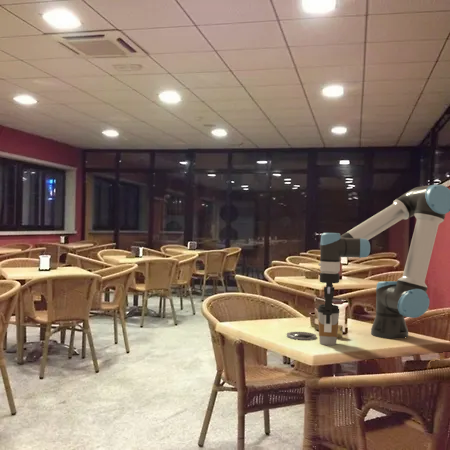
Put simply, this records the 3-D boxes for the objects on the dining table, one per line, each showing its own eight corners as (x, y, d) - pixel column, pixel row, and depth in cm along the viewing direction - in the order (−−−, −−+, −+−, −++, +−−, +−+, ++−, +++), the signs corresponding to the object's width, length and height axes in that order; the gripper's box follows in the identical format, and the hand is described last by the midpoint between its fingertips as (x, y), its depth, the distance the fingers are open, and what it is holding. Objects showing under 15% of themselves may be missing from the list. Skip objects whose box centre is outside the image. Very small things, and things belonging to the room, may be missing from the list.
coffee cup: (338, 347, 200) (339, 308, 200) (316, 346, 202) (317, 306, 202) (338, 342, 209) (339, 304, 209) (317, 341, 210) (318, 303, 210)
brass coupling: (342, 336, 220) (342, 324, 220) (342, 339, 215) (342, 327, 215) (330, 336, 221) (330, 324, 221) (329, 338, 216) (330, 326, 216)
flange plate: (316, 335, 222) (316, 332, 222) (315, 341, 210) (315, 338, 210) (288, 333, 225) (288, 330, 225) (285, 339, 213) (285, 336, 213)
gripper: (321, 269, 217) (319, 323, 217) (318, 274, 195) (316, 334, 195) (339, 270, 216) (338, 324, 216) (339, 275, 193) (337, 335, 193)
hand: (328, 329), depth 205 cm, fingers open, 10 cm apart
